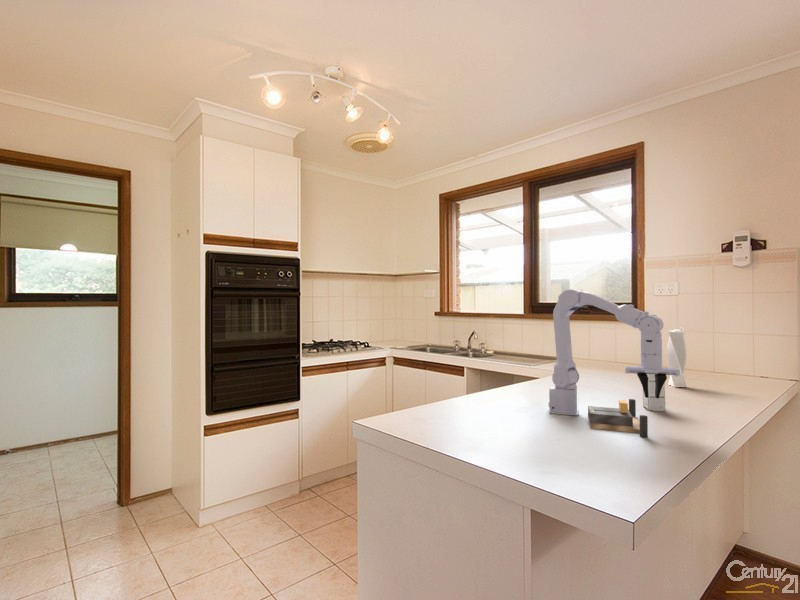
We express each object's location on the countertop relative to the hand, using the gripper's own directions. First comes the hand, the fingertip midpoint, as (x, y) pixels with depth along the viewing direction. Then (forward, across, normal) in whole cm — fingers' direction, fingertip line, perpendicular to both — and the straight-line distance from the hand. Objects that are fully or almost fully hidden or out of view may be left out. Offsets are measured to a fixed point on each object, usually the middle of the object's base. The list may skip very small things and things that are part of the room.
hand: (651, 397), depth 130 cm
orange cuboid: (+5, -8, 0) cm, 9 cm away
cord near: (+9, -4, -11) cm, 15 cm away
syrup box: (+10, +5, +26) cm, 28 cm away
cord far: (+9, -4, +11) cm, 15 cm away
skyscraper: (+10, +23, +76) cm, 80 cm away
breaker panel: (+9, -10, 0) cm, 14 cm away
